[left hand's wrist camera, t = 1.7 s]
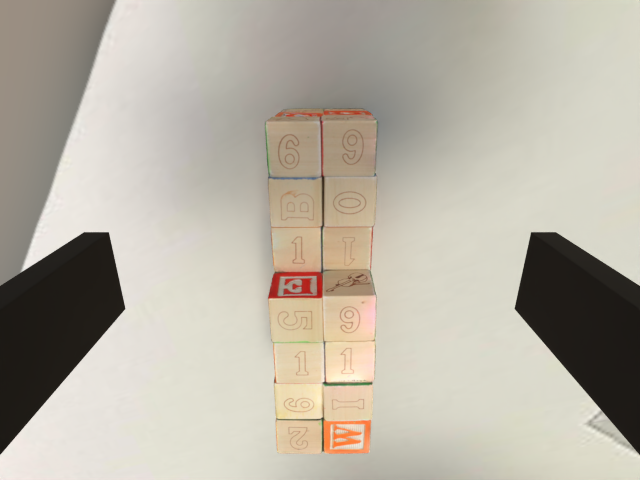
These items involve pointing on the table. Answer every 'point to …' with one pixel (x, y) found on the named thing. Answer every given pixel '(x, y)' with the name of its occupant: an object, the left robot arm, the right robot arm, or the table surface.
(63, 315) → the left robot arm
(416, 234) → the table surface
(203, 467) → the table surface
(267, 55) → the table surface
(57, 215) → the table surface
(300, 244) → the stack of blocks
